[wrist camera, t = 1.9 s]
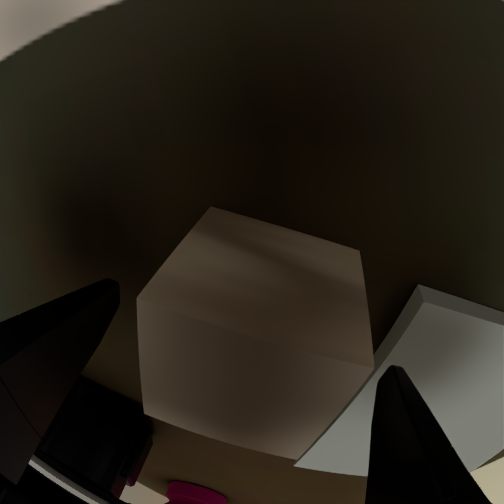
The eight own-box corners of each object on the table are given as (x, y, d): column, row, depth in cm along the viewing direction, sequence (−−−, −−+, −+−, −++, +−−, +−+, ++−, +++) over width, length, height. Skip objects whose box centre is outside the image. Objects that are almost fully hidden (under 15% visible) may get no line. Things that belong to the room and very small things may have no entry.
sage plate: (295, 452, 17) (293, 465, 17) (417, 284, 10) (424, 301, 9) (460, 467, 17) (461, 477, 16) (591, 343, 9) (598, 354, 8)
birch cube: (194, 315, 13) (143, 413, 9) (211, 205, 10) (136, 297, 6) (310, 350, 13) (296, 459, 9) (359, 249, 10) (374, 368, 6)
